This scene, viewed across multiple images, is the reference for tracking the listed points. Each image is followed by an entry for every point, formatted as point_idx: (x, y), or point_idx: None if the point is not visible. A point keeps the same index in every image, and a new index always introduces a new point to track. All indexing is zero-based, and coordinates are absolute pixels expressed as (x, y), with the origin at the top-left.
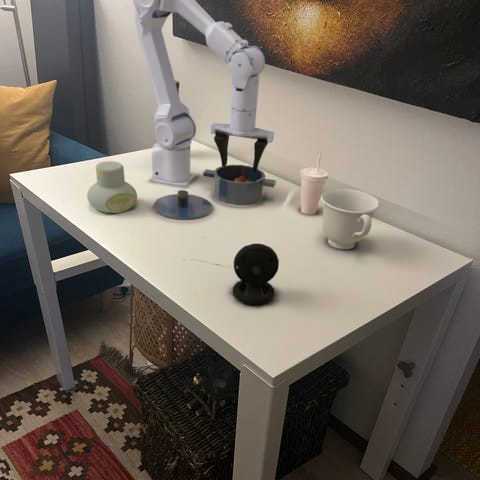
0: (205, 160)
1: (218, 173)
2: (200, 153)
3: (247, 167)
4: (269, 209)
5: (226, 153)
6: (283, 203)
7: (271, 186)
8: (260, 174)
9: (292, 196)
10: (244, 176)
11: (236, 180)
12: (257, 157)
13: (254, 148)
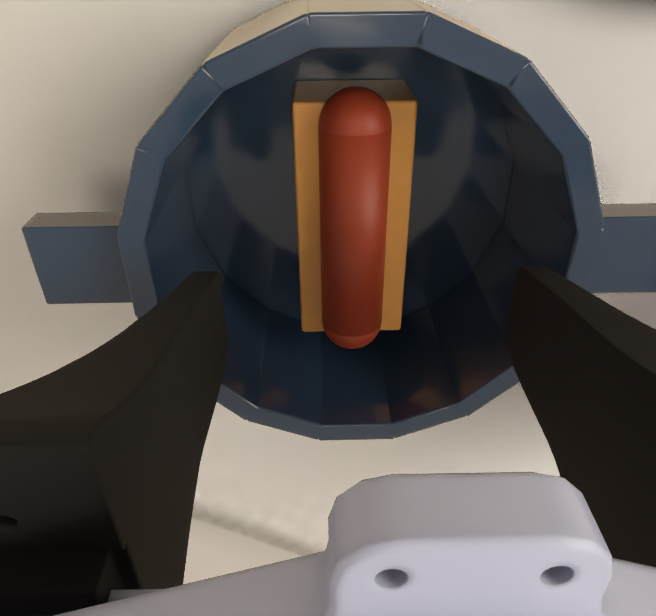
0: None
1: None
2: None
3: (337, 420)
4: (64, 68)
5: (549, 397)
6: (31, 215)
7: (53, 216)
8: None
9: (37, 335)
10: (338, 333)
11: (390, 291)
12: (126, 343)
13: (126, 398)
